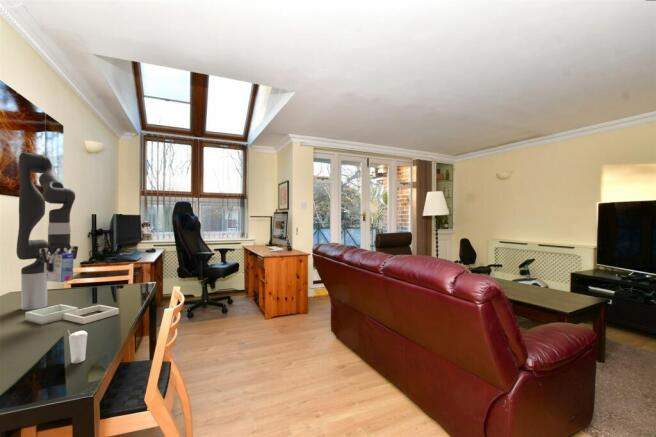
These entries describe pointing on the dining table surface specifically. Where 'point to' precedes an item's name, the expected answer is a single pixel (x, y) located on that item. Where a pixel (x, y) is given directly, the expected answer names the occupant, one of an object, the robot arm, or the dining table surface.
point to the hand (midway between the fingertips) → (58, 270)
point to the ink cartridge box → (60, 268)
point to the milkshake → (78, 346)
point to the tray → (48, 314)
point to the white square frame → (77, 318)
